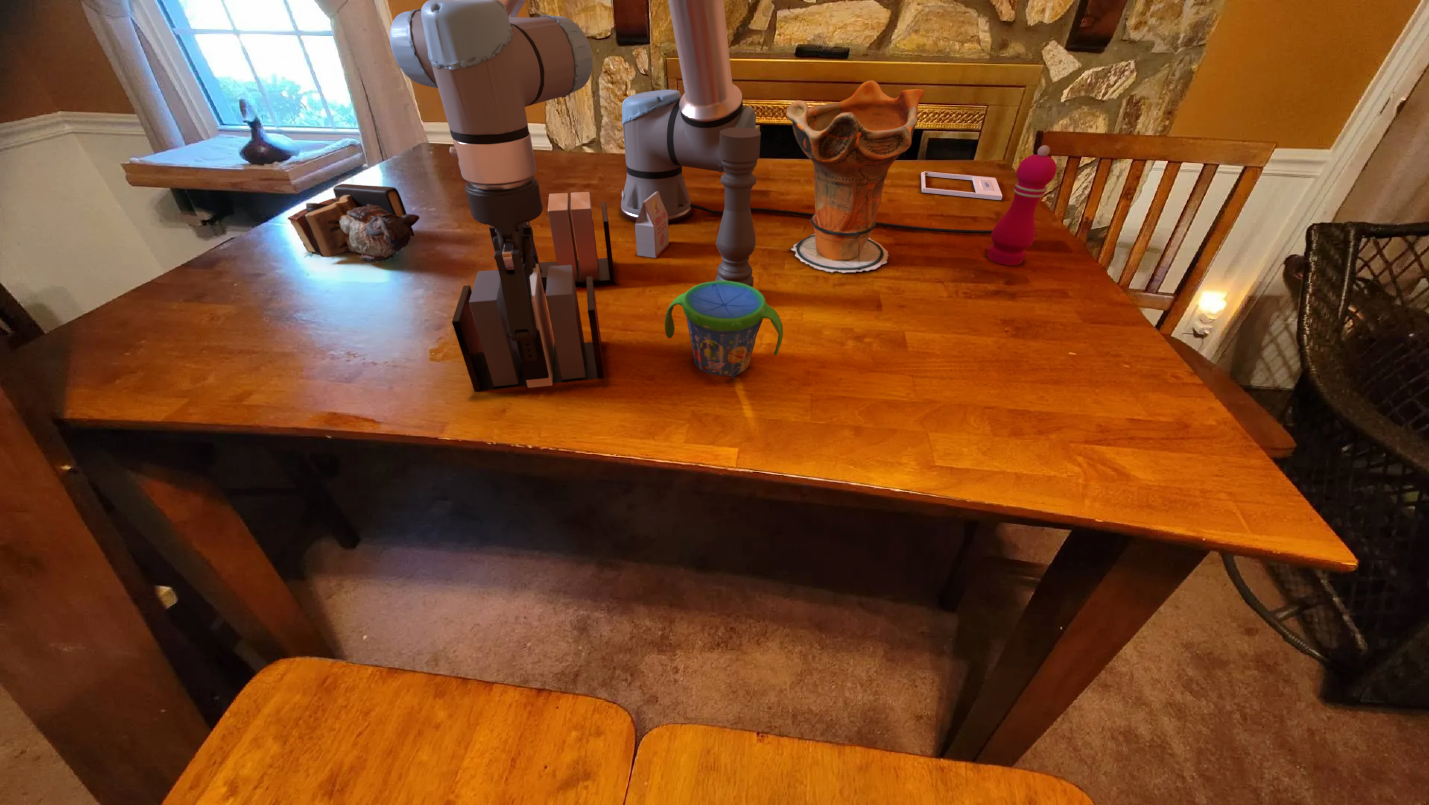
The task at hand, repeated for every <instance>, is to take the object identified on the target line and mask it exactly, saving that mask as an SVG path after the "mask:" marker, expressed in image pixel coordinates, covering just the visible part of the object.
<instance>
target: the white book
mask: <svg viewBox="0 0 1429 805" xmlns="http://www.w3.org/2000/svg"><path fill="white" fill-rule="evenodd" d="M530 283H531V291H532V305H533V310H534V314H535V320H536V327H537V329H538V330H539V331H540V336H541V341H542V345H543V350H544V355H545V359H546V364H547V369H548V373H549V378H544V379H534V380H526V382H527V386H526V387H527V388H528V389H530V388H541V387H550V386H553V384H552V381H553V359H554V345H555V341H554V336H553V331H552V326H551V321H550V316H549V311H548V305H547V300H546V293H545V290H544V289H543V284H542V279H541V274H540V269H539V264H536V268H533V274H532V275H531V276H530Z"/></svg>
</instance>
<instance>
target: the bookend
mask: <svg viewBox="0 0 1429 805" xmlns="http://www.w3.org/2000/svg"><path fill="white" fill-rule="evenodd" d="M332 191H333V194H334V197H333V198H329V199H327V200H323V201H321V202H318V203H317V202H306V203H305V208H303V209H302V210H299V211H297V212H295V213H294V214H293V215H291V216H288V217H287V220H289V221H290V224H291V225H292V227H293V228H294V230H295V232H296V234H297V236H298V237H299V239H300V240H301V243H302V246H303V247H304V248H305V250H306V251H307V252H308V253H315V254H316V255H317V254H318V255H319V256H320V257H322V258H332V257H334V256H335V255H338V254H341V253H345V252H346V253H351V252H352V253H358V254H360V259H361V261H362V262H366V263H368V262H369V263H381V262H386V261H390V259H392V258H394V257H395V256H396V255H397V254H398V253H400V252H401V251H402V249H404V248H405V247H406V246H408V244H409V242H410V240H411V238H412V237H414V236H415V232H414V230H413V226H414V225H415V224H417V222H418V221H419V220H420V218H421V217H420V216H419V215H418V214H413V213H407V211H406V207H405V205H404V202H403V200H402V197H401V194H400V191H399V190H398V189H397V188H396V187H394V186H386V185H385V186H384V185H383V186H381V185H366V184H353V183H341V184H337V185H335V186H334V187H333V188H332Z"/></svg>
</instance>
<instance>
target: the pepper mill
mask: <svg viewBox="0 0 1429 805" xmlns="http://www.w3.org/2000/svg"><path fill="white" fill-rule="evenodd" d="M1050 151H1051V148H1050V146H1048V145H1046V144H1044V145H1041V146H1040V147H1039V148H1038V149H1037V154H1036V153H1035V154H1031V155H1029V156H1027V157H1025V158H1024V159H1022V161H1021V162H1020V163H1019V165H1018V167H1017V168H1016V174H1015V175H1016V179H1017V182H1016V183H1015V184H1014V188H1013V190H1012V191H1013V193H1014V195H1013V199H1012V202H1011V204H1010V207H1009V208H1008V210H1007V211H1006V212H1005V214H1004V215H1003V216H1002V217H1001V218H1000V219H999V220H998V222H997V223H996V224H995V225H994V227H993V229H992V230H993V231H992V234H990V238H991V241H992V243H993V244H991V245H990V246H989V248H988V251H987V254H986V257H987V258H988V259H989V260H991V261H992V262H994V263H997V264H1000V265H1005V266H1017V265H1020V264H1022V263H1023V262H1024V259H1025V256H1026V251H1025V250H1026V249H1028V248H1029V247H1030V246H1032V245H1033V243H1034V241H1035V236H1036V230H1037V229H1036V221H1035V220H1036V219H1035V216H1036V215H1035V214H1036V210H1037V209H1036V208H1037V206H1038V204H1039V201H1040V199H1041V198H1042V197H1045V192H1046V191H1047V184H1050V183H1051V182H1052V181H1053V180H1054V178H1055V177H1056V174H1057V170H1058V169H1057V163H1056V161H1055V160H1054V158H1052V157H1051V156H1049V154H1050Z"/></svg>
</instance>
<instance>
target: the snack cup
mask: <svg viewBox="0 0 1429 805" xmlns="http://www.w3.org/2000/svg"><path fill="white" fill-rule="evenodd" d="M677 305H679V306H681V308H682V310H683V313H684V316H685V317H686V322H687V327H688V335H689V340H690V345H691V350H692V351H691V352H692V357H693V359H694V360H693V361H694V364H695V366H696V367H697V368H698V369H699V370H700V371H702V372H703V373H706V374H709V375H712V376H723V377H726V376H727V377H728V376H730V379H731V380H732V379H733V378H735V377H736V376H739V375H741V374H743V373H744V372H745V371H746V370H748V368H749V366H750V364H751V360H752V355H753V352H754V348H755V345H756V339H757V337H758V333H759V331H760V327H761V325H762V323H763V319H767V320H769V321H770V322H771V324H772V326H773V327H774V330H775V331H776V333H777V335H778V336H777V342H776V345H775V350H774V352H773V355H774V356H775V357H776V356H777V355H778V353H779V351H780V347H781V345H782V341H783V337H784V327H783V322H782V319H781V317H780V315H779V314H778V312H777V311H776V310H775V309H774V307H772V306H770V305H769V304H768V303H767V301H766V298H765V296H764V294H763V293H762V292H761V291H759V290H758V289H756V288H755V287H754V286H753V287H751V286H749V285H746V284H743V283H738V282H733V281H716V280H712V281H707V282H702V283H699V284H696V285H694V286H693V287H691V288H690V289H688V290H687V291H686V292H684V293H680V295H677V297H675V298H674V299H673V300H672V302H671V303H670V304H669V306H668V307H667V309H666V313H665V316H664V317H665V318H664V330H665V331H664V332H665V335H666V337H667V338H668V339H671V338H673V336H674V334H675V329H676V328H675V322H674V318H673V314H672V313H673V311H674V308H675V307H676V306H677Z"/></svg>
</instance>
